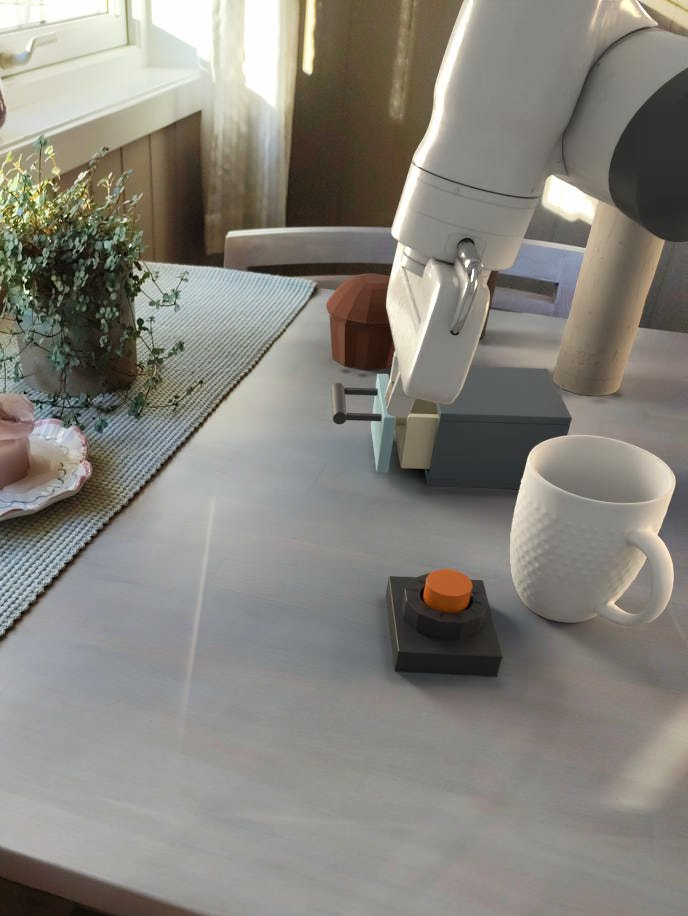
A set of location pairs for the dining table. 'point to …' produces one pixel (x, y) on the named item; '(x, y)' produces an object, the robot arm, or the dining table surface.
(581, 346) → the thermos bottle
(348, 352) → the muffin
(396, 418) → the tray
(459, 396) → the dispenser
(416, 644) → the control block
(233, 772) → the dining table surface
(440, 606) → the button
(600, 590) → the mug
